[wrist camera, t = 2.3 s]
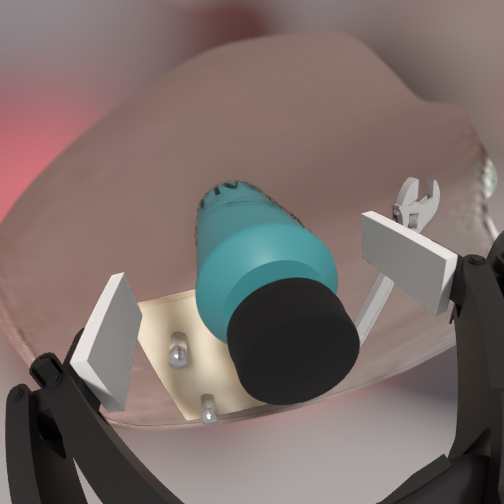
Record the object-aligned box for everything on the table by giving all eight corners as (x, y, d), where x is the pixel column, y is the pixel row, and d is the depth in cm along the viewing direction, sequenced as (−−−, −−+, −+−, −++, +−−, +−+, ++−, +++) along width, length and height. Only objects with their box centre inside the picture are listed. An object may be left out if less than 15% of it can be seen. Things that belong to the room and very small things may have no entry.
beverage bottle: (244, 255, 28) (322, 436, 9) (183, 226, 25) (160, 413, 7) (278, 197, 26) (432, 314, 8) (215, 163, 24) (271, 224, 6)
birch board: (309, 260, 29) (314, 265, 28) (318, 380, 37) (321, 387, 36) (127, 304, 27) (124, 312, 26) (186, 412, 35) (187, 420, 34)
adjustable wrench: (351, 347, 36) (357, 354, 35) (316, 341, 35) (321, 349, 33) (436, 187, 29) (445, 190, 28) (406, 164, 27) (416, 166, 26)
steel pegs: (285, 304, 29) (297, 326, 25) (296, 380, 34) (305, 402, 30) (168, 333, 28) (165, 358, 24) (203, 403, 33) (205, 426, 29)
